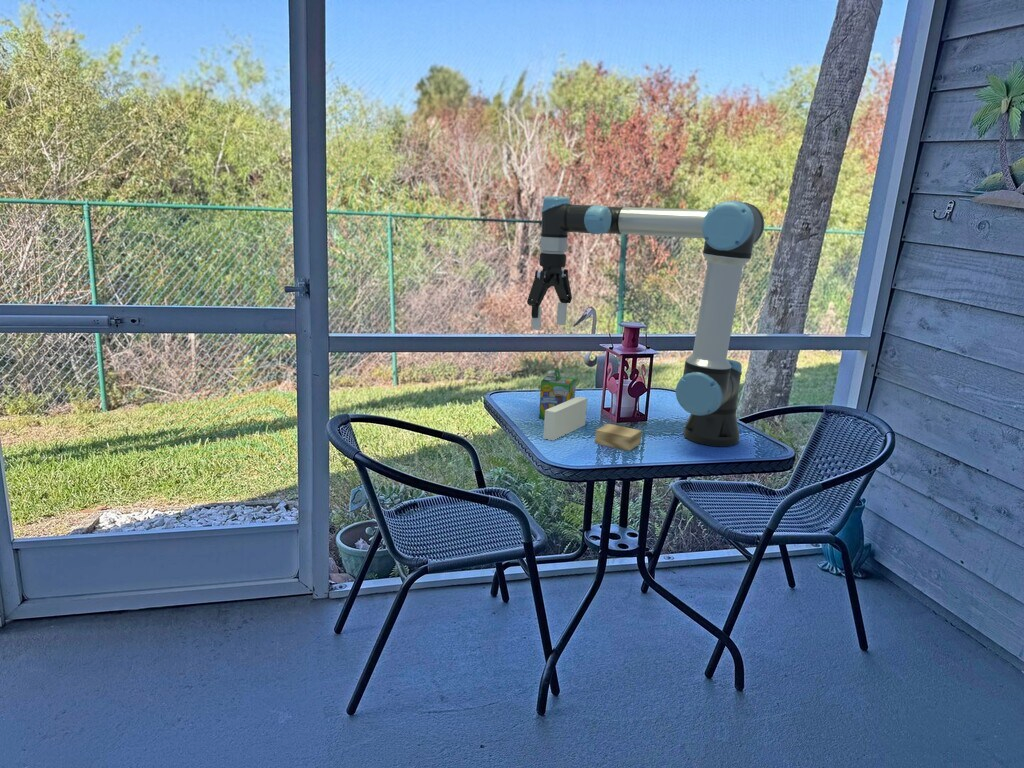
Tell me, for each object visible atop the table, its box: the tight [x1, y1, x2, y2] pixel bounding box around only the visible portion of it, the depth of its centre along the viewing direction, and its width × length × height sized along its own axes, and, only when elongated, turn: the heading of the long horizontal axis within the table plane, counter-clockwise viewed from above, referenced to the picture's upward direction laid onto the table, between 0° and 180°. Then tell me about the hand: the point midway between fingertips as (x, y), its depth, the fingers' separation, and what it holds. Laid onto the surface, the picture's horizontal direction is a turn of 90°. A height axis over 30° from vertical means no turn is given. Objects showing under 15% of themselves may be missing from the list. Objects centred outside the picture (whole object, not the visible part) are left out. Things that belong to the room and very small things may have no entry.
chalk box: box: [538, 366, 577, 420], centre depth 219 cm, size 9×9×15 cm
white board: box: [542, 396, 588, 442], centre depth 205 cm, size 3×20×8 cm, turn 149°
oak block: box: [594, 423, 643, 452], centre depth 198 cm, size 10×8×4 cm
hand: (548, 327), depth 213 cm, fingers open, 13 cm apart
